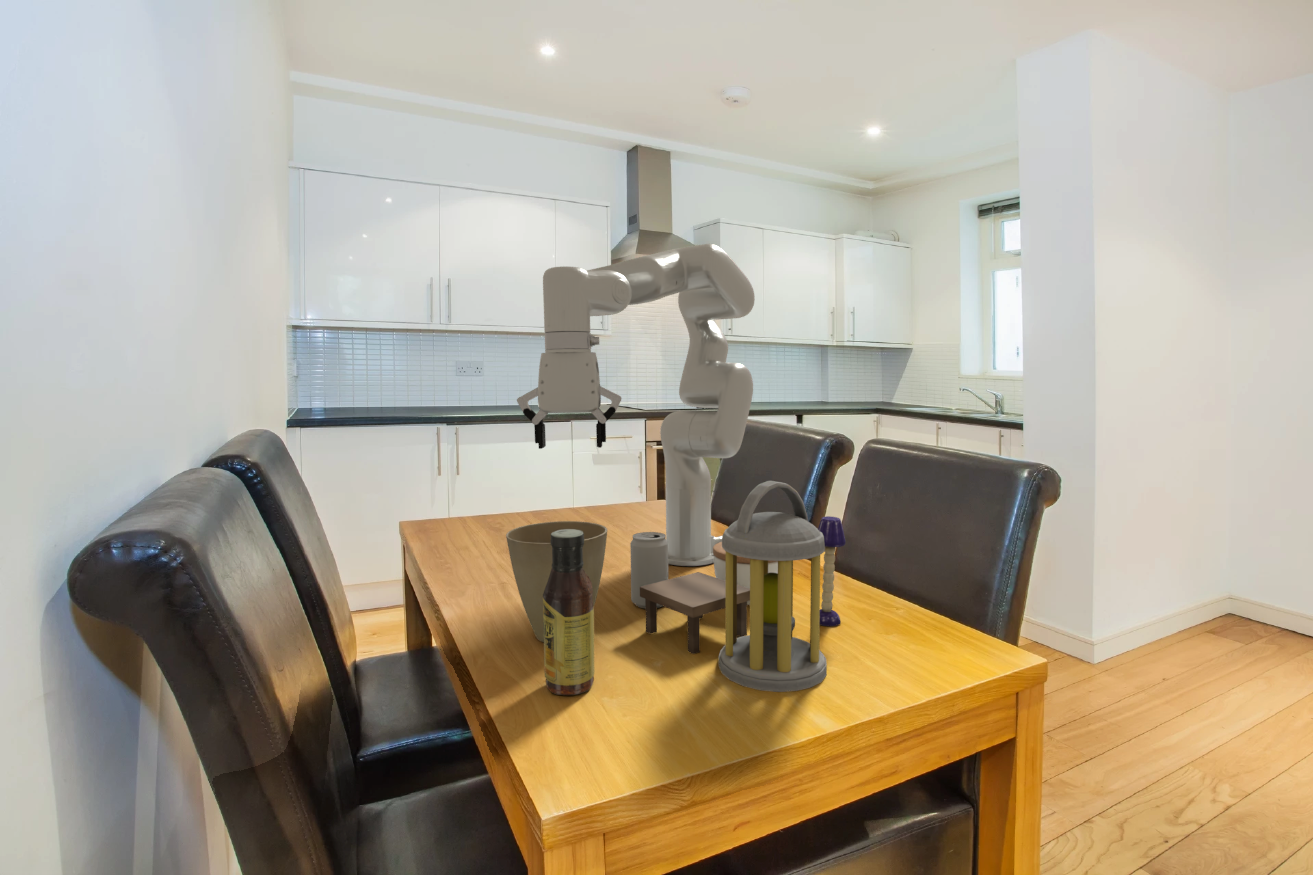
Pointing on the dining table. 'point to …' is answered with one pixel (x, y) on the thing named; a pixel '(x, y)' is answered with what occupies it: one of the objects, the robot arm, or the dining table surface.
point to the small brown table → (693, 602)
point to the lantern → (772, 597)
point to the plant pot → (550, 562)
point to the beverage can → (647, 563)
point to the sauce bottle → (568, 618)
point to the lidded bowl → (742, 567)
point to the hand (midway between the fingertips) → (570, 447)
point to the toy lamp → (830, 567)
